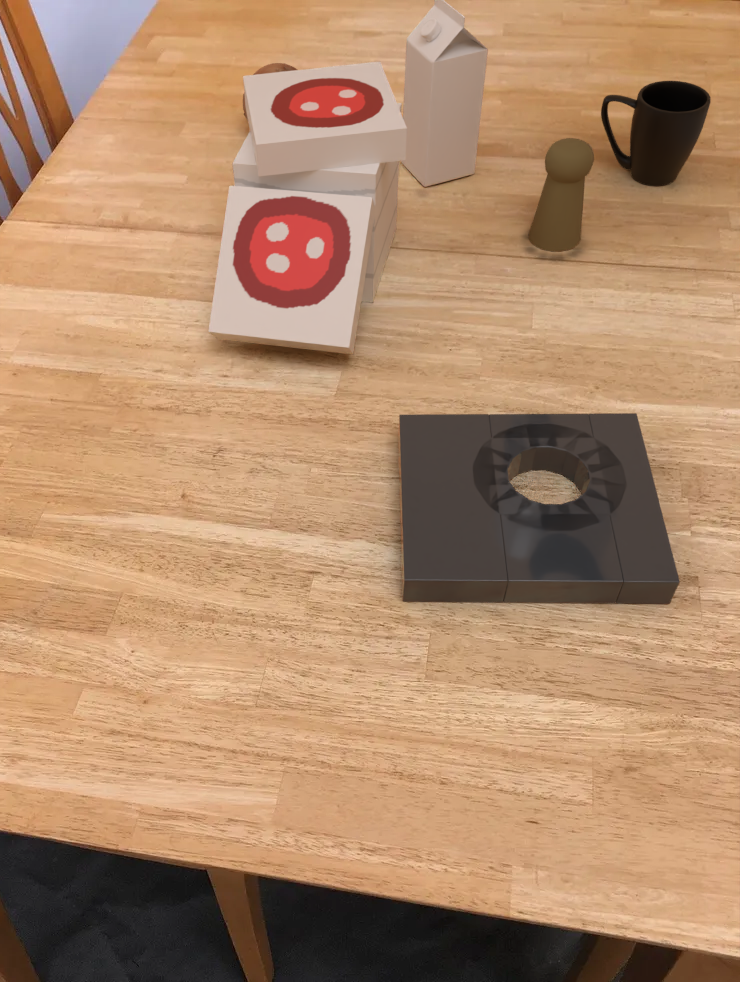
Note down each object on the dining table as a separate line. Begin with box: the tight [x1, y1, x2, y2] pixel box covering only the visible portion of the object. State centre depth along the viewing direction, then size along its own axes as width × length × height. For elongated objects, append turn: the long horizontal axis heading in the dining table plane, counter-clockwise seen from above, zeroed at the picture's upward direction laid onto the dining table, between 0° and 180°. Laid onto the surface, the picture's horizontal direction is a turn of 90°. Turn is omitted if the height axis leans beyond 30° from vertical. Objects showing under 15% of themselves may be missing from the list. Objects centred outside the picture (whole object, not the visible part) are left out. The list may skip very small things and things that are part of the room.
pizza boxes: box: [207, 60, 407, 355], centre depth 98 cm, size 19×30×18 cm, turn 166°
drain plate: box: [397, 412, 681, 605], centre depth 82 cm, size 22×20×3 cm
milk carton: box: [400, 0, 489, 188], centre depth 112 cm, size 7×7×19 cm
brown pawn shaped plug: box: [528, 137, 595, 253], centre depth 104 cm, size 6×6×11 cm
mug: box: [600, 80, 712, 187], centre depth 113 cm, size 8×12×10 cm
